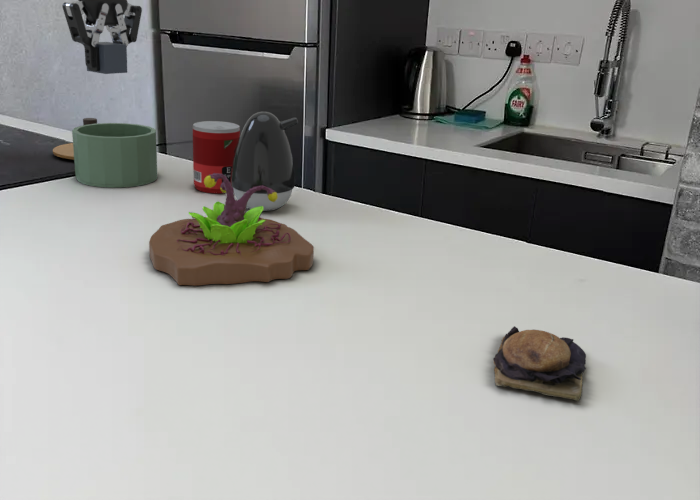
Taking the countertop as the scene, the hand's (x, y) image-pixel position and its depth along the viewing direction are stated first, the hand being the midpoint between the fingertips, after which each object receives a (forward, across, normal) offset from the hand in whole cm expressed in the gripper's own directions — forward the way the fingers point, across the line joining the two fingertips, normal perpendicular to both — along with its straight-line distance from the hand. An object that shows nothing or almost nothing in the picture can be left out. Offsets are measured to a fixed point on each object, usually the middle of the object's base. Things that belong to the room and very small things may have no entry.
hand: (107, 69), depth 112 cm
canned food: (+19, -10, +15) cm, 26 cm away
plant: (+19, +14, +39) cm, 46 cm away
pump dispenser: (+19, -6, +28) cm, 34 cm away
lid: (+19, -11, -19) cm, 29 cm away
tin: (+19, -2, -2) cm, 19 cm away
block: (0, 0, 0) cm, 0 cm away
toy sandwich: (+19, +18, +81) cm, 85 cm away
